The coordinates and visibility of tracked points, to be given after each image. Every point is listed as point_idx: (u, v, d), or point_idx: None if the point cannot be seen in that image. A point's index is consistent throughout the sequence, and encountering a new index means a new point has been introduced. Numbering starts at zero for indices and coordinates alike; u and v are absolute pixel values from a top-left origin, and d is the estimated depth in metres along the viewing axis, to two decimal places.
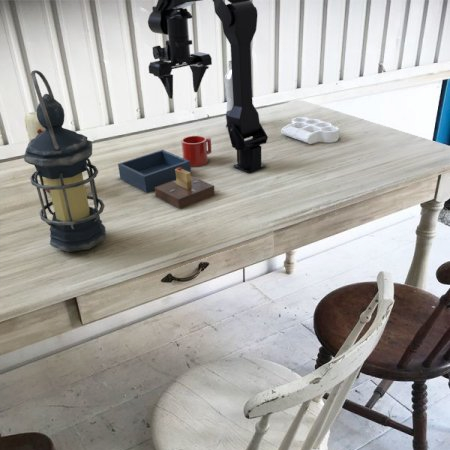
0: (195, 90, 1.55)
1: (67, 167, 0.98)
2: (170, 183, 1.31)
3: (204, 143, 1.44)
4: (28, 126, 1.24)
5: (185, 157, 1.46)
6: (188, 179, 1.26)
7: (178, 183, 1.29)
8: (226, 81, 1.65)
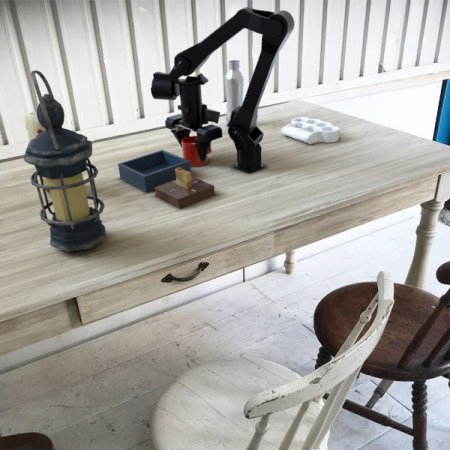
0: None
1: (67, 167, 0.98)
2: (170, 183, 1.31)
3: None
4: (28, 126, 1.24)
5: (185, 157, 1.46)
6: (188, 179, 1.26)
7: (178, 183, 1.29)
8: (226, 81, 1.65)
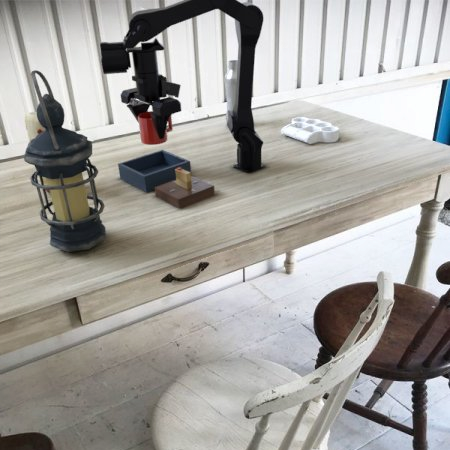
0: None
1: (67, 167, 0.98)
2: (170, 183, 1.31)
3: None
4: (28, 126, 1.24)
5: (142, 134, 1.33)
6: (188, 179, 1.26)
7: (178, 183, 1.29)
8: (226, 81, 1.65)
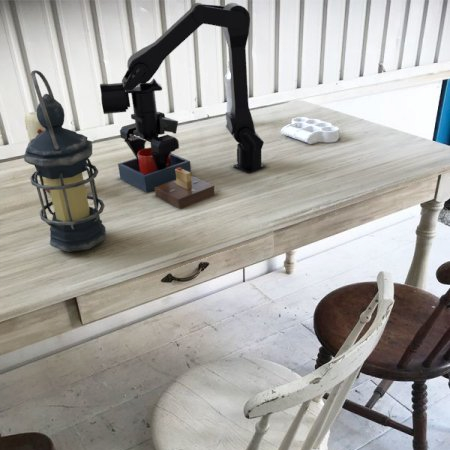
0: None
1: (67, 167, 0.98)
2: (170, 183, 1.31)
3: None
4: (28, 126, 1.24)
5: (141, 170, 1.37)
6: (188, 179, 1.26)
7: (178, 183, 1.29)
8: (226, 81, 1.65)
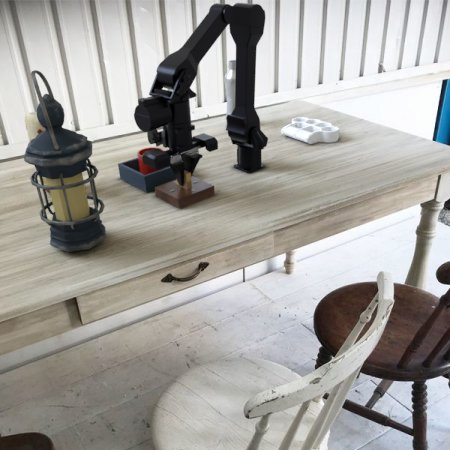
0: None
1: (67, 167, 0.98)
2: (170, 183, 1.31)
3: None
4: (28, 126, 1.24)
5: (141, 170, 1.37)
6: (188, 179, 1.26)
7: (178, 183, 1.29)
8: (226, 81, 1.65)
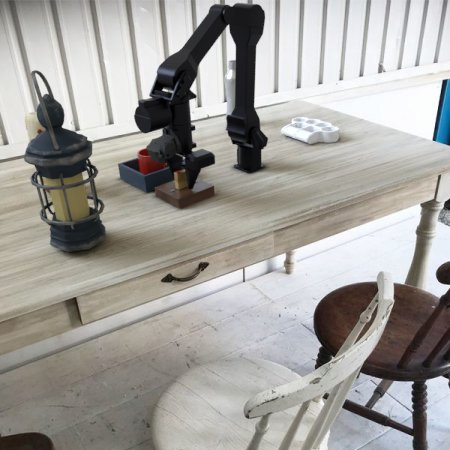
0: None
1: (67, 167, 0.98)
2: (170, 183, 1.31)
3: None
4: (28, 126, 1.24)
5: (141, 170, 1.37)
6: None
7: (181, 186, 1.28)
8: (226, 81, 1.65)
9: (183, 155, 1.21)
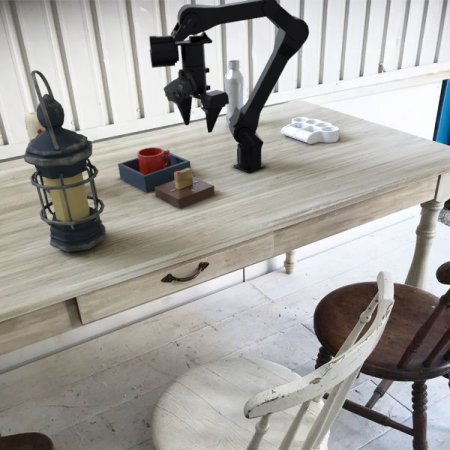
0: (188, 123, 1.38)
1: (67, 167, 0.98)
2: (170, 183, 1.31)
3: (161, 156, 1.35)
4: (28, 126, 1.24)
5: (141, 170, 1.37)
6: None
7: (181, 186, 1.28)
8: (226, 81, 1.65)
9: (193, 95, 1.29)
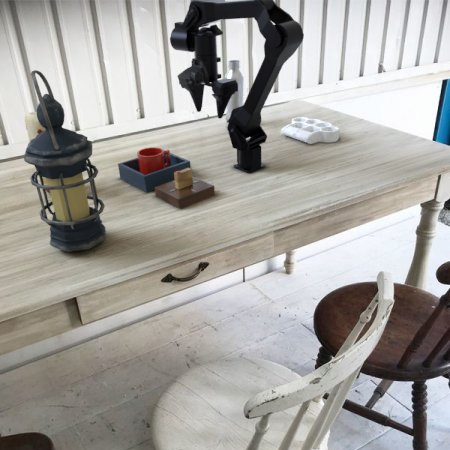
0: (200, 109, 1.48)
1: (67, 167, 0.98)
2: (170, 183, 1.31)
3: (161, 156, 1.35)
4: (28, 126, 1.24)
5: (141, 170, 1.37)
6: None
7: (181, 186, 1.28)
8: None
9: (205, 83, 1.39)
